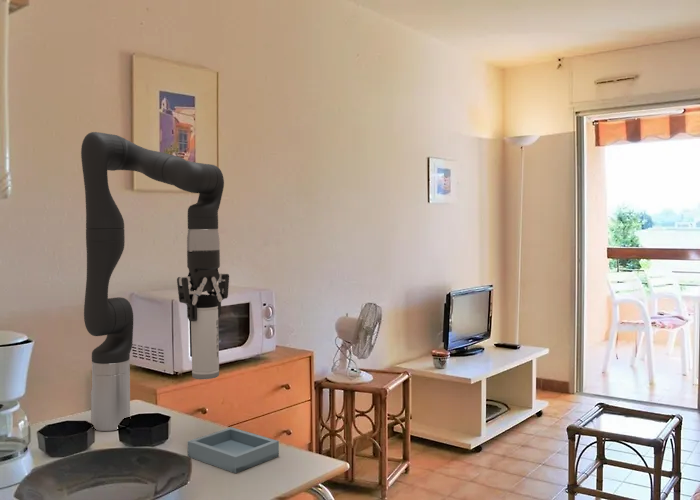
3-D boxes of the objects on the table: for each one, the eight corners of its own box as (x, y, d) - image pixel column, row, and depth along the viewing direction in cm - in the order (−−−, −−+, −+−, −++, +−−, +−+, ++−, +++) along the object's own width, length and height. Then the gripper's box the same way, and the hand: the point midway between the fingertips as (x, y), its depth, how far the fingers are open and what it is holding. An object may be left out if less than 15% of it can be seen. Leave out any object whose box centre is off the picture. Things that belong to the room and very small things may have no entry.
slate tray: (187, 456, 148) (187, 441, 148) (231, 441, 158) (231, 427, 158) (235, 473, 138) (235, 457, 138) (278, 456, 148) (278, 441, 148)
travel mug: (185, 376, 155) (184, 292, 154) (210, 372, 159) (209, 290, 158) (199, 381, 150) (197, 294, 149) (224, 376, 154) (222, 292, 154)
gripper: (216, 247, 161) (217, 314, 162) (168, 249, 150) (169, 321, 151) (237, 247, 157) (238, 317, 157) (188, 249, 146) (190, 324, 146)
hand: (204, 319), depth 154 cm, fingers closed on travel mug, 6 cm apart
